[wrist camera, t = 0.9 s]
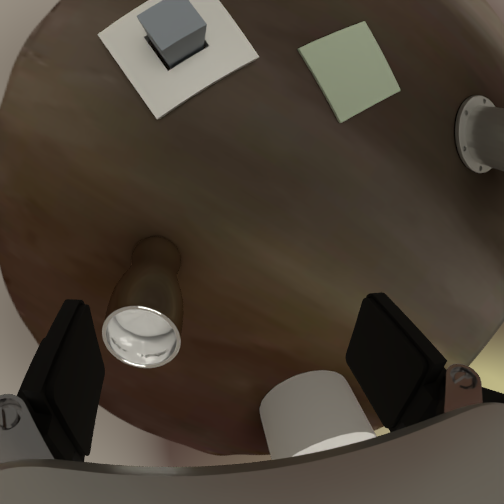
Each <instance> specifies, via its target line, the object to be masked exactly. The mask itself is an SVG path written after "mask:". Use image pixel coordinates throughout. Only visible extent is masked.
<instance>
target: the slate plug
mask: <svg viewBox="0 0 504 504" xmlns="http://www.w3.org/2000/svg"><path fill="white" fill-rule="evenodd" d="M137 18H138V20H139V21H140V23H141V25H142V26H143V28H144V30H145V32H146V33H147V35H148V37H149V38H150V40H151V42H152V43H153V45H154V46H155V48H156V49H157V50H158V52H159V53H160V55H161V56H162V57H163V59H164V60H165V62H166V63H167V64H168V66H169V67H170V69H172V68H174V67H175V66H177V65H178V64H180V63H182V62H183V61H185V60H186V59H188V58H190V57H191V56H193V55H195V54H196V53H198V52H200V51H202V50H203V48H204V41H205V34H206V27H207V24H206V23H205V21H204V20H203V19H202V17H201V16H200V14H199V13H198V12H197V10H196V9H195V8H194V7H193V5H192V4H191V3H190V1H189V0H162V1H160V2H159V3H157V4H155V5H154V6H152V7H150V8H149V9H147V10H145V11H144V12H142V13H141V14H139V15H137Z"/></svg>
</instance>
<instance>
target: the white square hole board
mask: <svg viewBox="0 0 504 504" xmlns="http://www.w3.org/2000/svg"><path fill="white" fill-rule="evenodd" d="M160 1H162V0H149V1H147V2H145V3H144V4H142V5H140V6H139V7H137V8H135V9H134V10H132V11H131V12H129V13H128V14H126V15H125V16H123V17H122V18H120V19H119V20H117V21H116V22H114V23H113V24H112V25H110V26H109V27H107V28H106V29H105V30H103V31H102V32H100V33H99V34H98V36H99V37H100V39H101V40H102V42H103V43H104V44H105V46H106V47H107V49H108V50H109V52H110V53H111V54H112V56H113V57H114V59H115V60H116V62H117V63H118V64H119V66H120V67H121V69H122V70H123V72H124V73H125V74H126V76H127V77H128V79H129V80H130V82H131V83H132V84H133V86H134V87H135V89H136V90H137V92H138V93H139V95H140V96H141V97H142V99H143V100H144V102H145V103H146V104H147V106H148V107H149V109H150V110H151V112H152V113H153V114H154V116H155V117H156V119H161V118H162V117H164V116H165V115H166V114H168V113H169V112H171V111H172V110H174V109H175V108H177V107H178V106H180V105H181V104H183V103H184V102H186V101H187V100H189V99H190V98H192V97H193V96H195V95H197V94H198V93H200V92H201V91H203V90H205V89H206V88H208V87H209V86H211V85H213V84H214V83H216V82H218V81H220V80H221V79H223V78H225V77H226V76H228V75H230V74H232V73H233V72H235V71H237V70H239V69H241V68H242V67H244V66H246V65H248V64H250V63H252V62H253V61H255V60H256V59H257V58H258V57H259V56H258V55H257V53H256V52H255V50H254V49H253V47H252V46H251V44H250V43H249V41H248V40H247V38H246V37H245V35H244V34H243V33H242V31H241V30H240V28H239V27H238V25H237V24H236V23H235V21H234V20H233V19H232V17H231V16H230V14H229V13H228V12H227V10H226V9H225V8H224V6H223V5H222V4H221V2H220V1H219V0H189V1H190V3H191V4H192V5H193V7H194V8H195V9H196V10H197V12H198V13H199V14H200V16H201V17H202V19H203V20H204V21H205V23H206V24H207V27H206V34H205V41H204V45H205V47H206V48H205V49H203V50H202V51H200V52H198V53H196V54H195V55H193V56H191V57H190V58H188V59H186V60H185V61H183V62H182V63H180V64H178V65H177V66H175V67H174V68H172V69H170V70H169V71H168V70H167V69H166V68H165V66H164V65H163V63H162V62H161V61H160V59H159V58H158V56H157V55H156V53H155V52H154V51H153V49H152V48H151V47H150V45H149V44H148V42H149V41H150V38H149V37H148V35H147V33H146V32H145V30H144V28H143V26H142V25H141V23H140V21H139V20H138V18H137V15H139V14H141V13H142V12H144V11H145V10H147V9H149V8H150V7H152V6H154V5H155V4H157V3H159V2H160Z"/></svg>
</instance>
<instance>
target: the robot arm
mask: <svg viewBox="0 0 504 504" xmlns="http://www.w3.org/2000/svg"><path fill="white" fill-rule="evenodd" d="M455 139H456V145H457V149H458V153H459V155H460V158H461V160H462V161H463V163H464V164H465V165H466V167H467V168H469V169H470V170H472V171H474V172H477V173H485V172H487V171H489V170H490V169H491V168H495V169H498V170H501V171H504V108H498V107H495V106H494V104H493V103H492V102H491V101H490V100H489V99H488V98H486V97H484V96H478V95H474V96H470V97H469V98H467V99H466V100H465V101H464V102H463V103H462V105H461V107H460V109H459V111H458V114H457V118H456V125H455ZM346 362H347V364H348V366H349V367H350V369H351V371H352V372H353V374H354V376H355V378H356V379H357V381H358V383H359V384H360V386H361V388H362V389H363V391H364V393H365V394H366V396H367V398H368V400H369V401H370V403H371V405H372V406H373V408H374V410H375V412H376V413H377V415H378V417H379V418H380V420H381V422H382V424H383V425H384V427H386V428H389V430H390V433H388V434H384V435H381V436H378V437H374V438H371V439H367V440H364V441H360V442H357V443H353V444H349V445H345V446H341V447H337V448H333V449H328V450H324V451H319V452H315V453H310V454H304V455H299V456H294V457H288V458H281V459H275V460H268V461H260V462H252V463H244V464H232V465H219V466H202V467H144V466H122V465H109V464H98V463H89V462H84V457H85V455H86V456H88V455H89V454H90V450H91V443H92V437H93V430H94V425H95V419H96V414H97V408H98V404H99V399H100V394H101V389H102V384H103V380H104V375H105V368H104V363H103V360H102V356H101V353H100V349H99V345H98V341H97V337H96V333H95V329H94V325H93V321H92V316H91V312H90V308H89V305H85V304H84V302H83V301H82V300H70V299H67V300H65V302H64V303H63V305H62V307H61V309H60V311H59V313H58V314H57V316H56V318H55V320H54V322H53V324H52V326H51V328H50V330H49V332H48V334H47V336H46V338H44V339H43V340H42V341H41V343H40V345H39V347H38V350H37V351H36V354H35V356H34V358H33V360H32V362H31V364H30V366H29V369H28V371H27V373H26V375H25V378H24V380H23V382H22V385H21V387H20V390H19V392H18V394H17V396H15V395H12V394H4V395H0V504H504V394H502V393H499V392H496V391H493V390H490V389H487V388H483V387H482V386H481V380H480V377H479V375H478V374H477V373H476V372H475V371H474V370H473V369H472V368H470V367H468V366H466V365H463V364H453V365H451V366H449V367H448V368H447V370H446V369H445V368H444V366H445V364H446V362H447V360H446V359H445V358H444V357H443V355H442V354H441V353H440V352H439V351H438V350H437V349H436V348H435V347H434V345H433V344H432V343H431V342H430V341H429V340H428V339H427V338H426V337H425V336H424V334H423V333H422V332H421V331H420V330H419V329H418V328H417V327H416V326H415V325H414V324H413V323H412V321H411V320H410V319H409V318H408V317H407V316H406V315H405V314H404V313H403V312H402V311H401V310H400V309H399V308H398V307H397V306H396V305H395V304H394V303H393V301H392V300H391V299H390V298H389V297H388V296H387V295H386V294H384V293H370V294H368V295H367V296H366V298H364V299H363V301H362V304H361V308H360V311H359V314H358V318H357V321H356V324H355V328H354V331H353V334H352V337H351V340H350V343H349V347H348V350H347V353H346Z"/></svg>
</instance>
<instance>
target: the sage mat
mask: <svg viewBox="0 0 504 504" xmlns="http://www.w3.org/2000/svg"><path fill="white" fill-rule="evenodd" d="M297 50H298V52H299V53H300V55H301V57H302V58H303V60H304V62H305V63H306V65H307V66H308V68H309V70H310V72H311V73H312V75H313V77H314V78H315V80H316V82H317V83H318V85H319V87H320V89H321V91H322V92H323V94H324V96H325V98H326V100H327V101H328V103H329V105H330V107H331V109H332V111H333V112H334V114H335V116H336V118H337V120H338V122H339V123H342V122H344V121H345V120H347V119H349V118H351V117H352V116H354V115H356V114H358V113H360V112H361V111H363V110H365V109H367V108H369V107H371V106H372V105H374V104H376V103H378V102H380V101H382V100H384V99H385V98H387V97H389V96H391V95H393V94H395V93H397V92H399V91H401V90H400V88H399V86H398V84H397V81H396V79H395V77H394V75H393V73H392V71H391V69H390V67H389V65H388V63H387V61H386V59H385V57H384V55H383V53H382V51H381V49H380V47H379V46H378V44H377V42H376V40H375V38H374V36H373V35H372V33H371V31H370V29H369V28H368V26H367V24H366V23H365V21H364V22H361V23H358V24H355V25H353V26H350V27H347V28H345V29H342V30H340V31H337V32H335V33H332V34H330V35H328V36H325V37H323V38H321V39H318V40H316V41H314V42H311V43H309V44H307V45H305V46H303V47H300V48H298V49H297Z"/></svg>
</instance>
